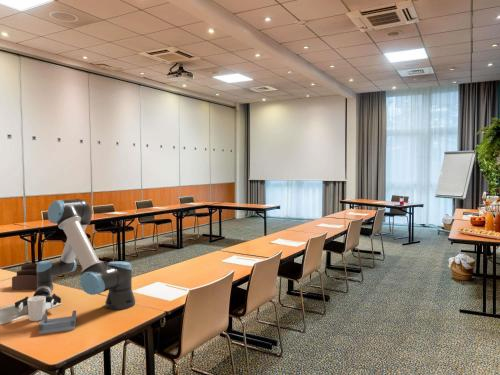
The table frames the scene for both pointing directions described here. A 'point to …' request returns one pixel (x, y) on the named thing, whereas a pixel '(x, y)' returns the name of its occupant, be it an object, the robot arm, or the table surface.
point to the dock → (57, 324)
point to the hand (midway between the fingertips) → (35, 307)
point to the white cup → (36, 307)
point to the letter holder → (26, 277)
